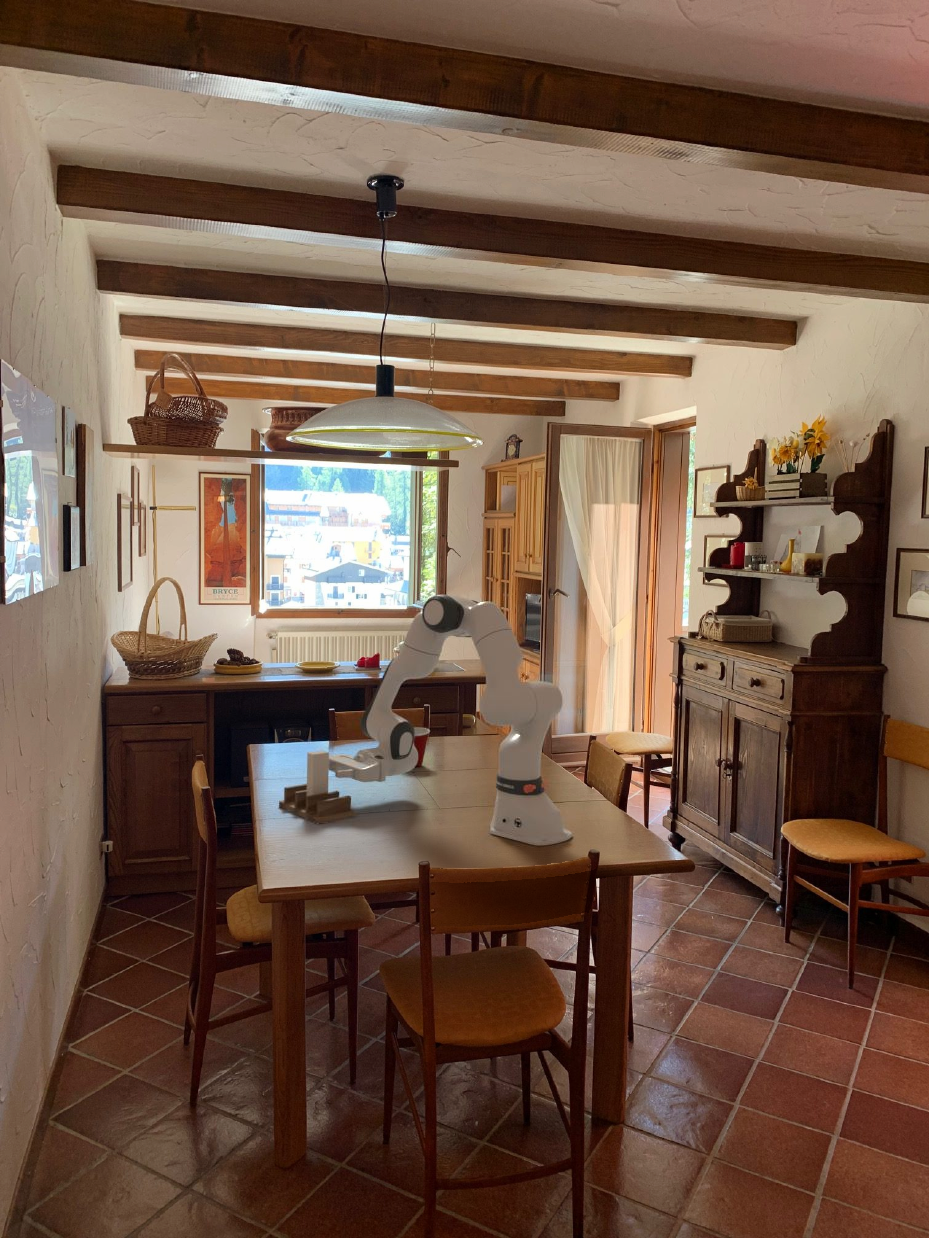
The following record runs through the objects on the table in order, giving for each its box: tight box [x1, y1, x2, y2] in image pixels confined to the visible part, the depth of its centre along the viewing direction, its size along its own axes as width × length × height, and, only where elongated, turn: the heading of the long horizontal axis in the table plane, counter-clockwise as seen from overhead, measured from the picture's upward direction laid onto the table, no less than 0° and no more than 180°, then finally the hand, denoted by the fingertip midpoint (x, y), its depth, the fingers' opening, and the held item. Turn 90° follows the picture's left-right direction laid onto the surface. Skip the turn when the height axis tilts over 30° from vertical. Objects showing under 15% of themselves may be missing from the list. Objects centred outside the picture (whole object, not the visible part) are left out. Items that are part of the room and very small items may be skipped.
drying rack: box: [278, 783, 357, 824], centre depth 254 cm, size 20×12×6 cm, turn 42°
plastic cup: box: [414, 727, 431, 767], centre depth 311 cm, size 11×11×12 cm
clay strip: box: [306, 749, 330, 796], centre depth 254 cm, size 3×5×15 cm, turn 131°
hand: (327, 771), depth 255 cm, fingers open, 8 cm apart
